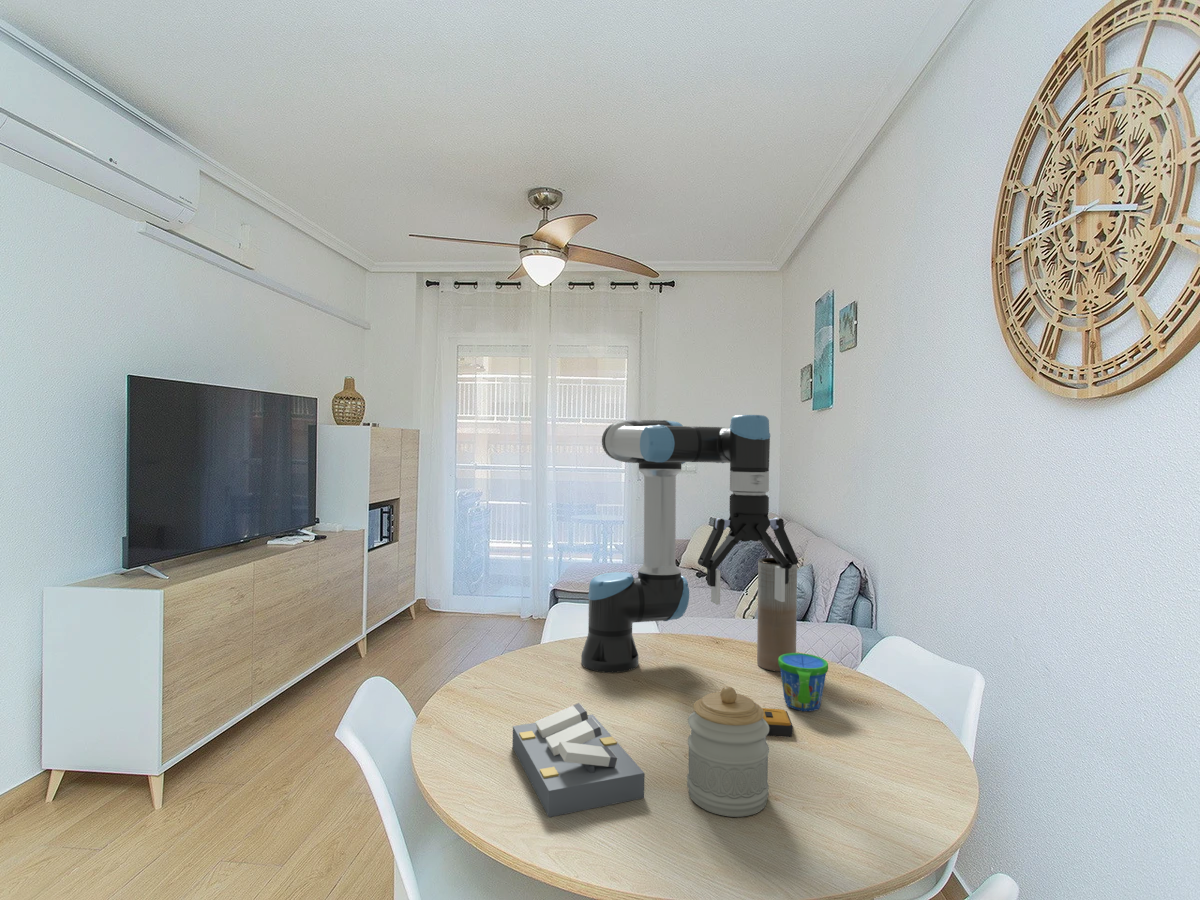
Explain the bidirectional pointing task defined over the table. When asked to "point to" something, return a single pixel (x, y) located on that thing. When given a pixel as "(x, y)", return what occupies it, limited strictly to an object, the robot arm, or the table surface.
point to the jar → (728, 754)
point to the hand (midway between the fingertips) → (747, 601)
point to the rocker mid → (574, 734)
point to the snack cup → (802, 680)
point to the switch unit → (576, 774)
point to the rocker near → (587, 754)
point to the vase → (775, 616)
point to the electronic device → (778, 722)
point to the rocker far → (561, 720)
